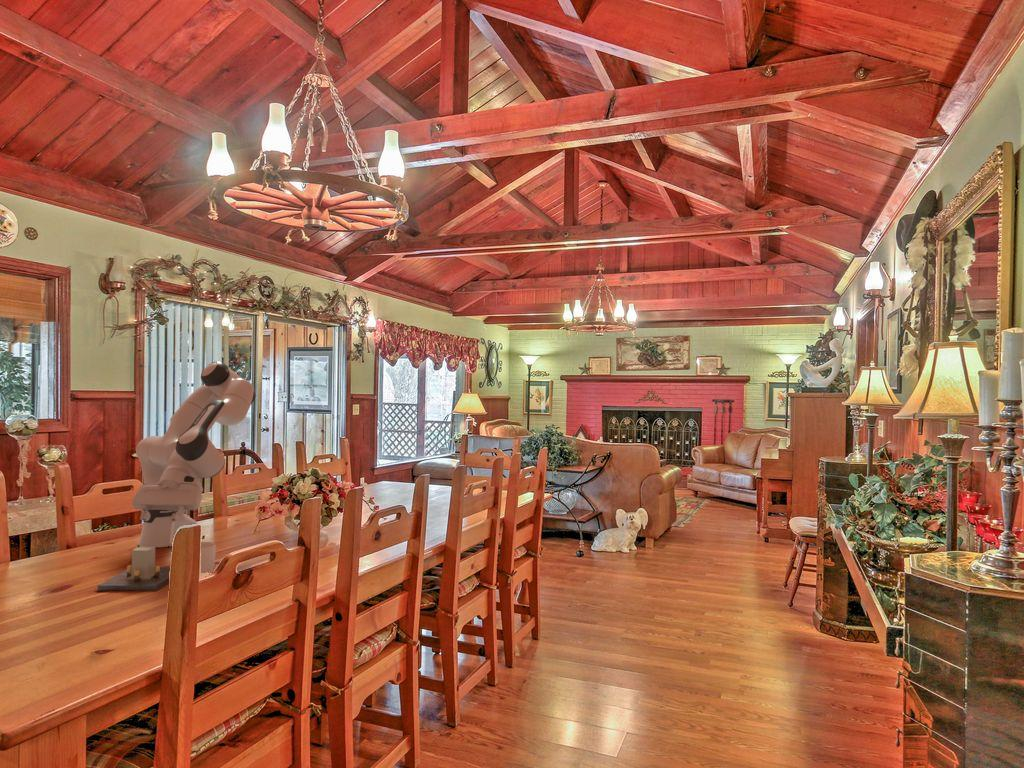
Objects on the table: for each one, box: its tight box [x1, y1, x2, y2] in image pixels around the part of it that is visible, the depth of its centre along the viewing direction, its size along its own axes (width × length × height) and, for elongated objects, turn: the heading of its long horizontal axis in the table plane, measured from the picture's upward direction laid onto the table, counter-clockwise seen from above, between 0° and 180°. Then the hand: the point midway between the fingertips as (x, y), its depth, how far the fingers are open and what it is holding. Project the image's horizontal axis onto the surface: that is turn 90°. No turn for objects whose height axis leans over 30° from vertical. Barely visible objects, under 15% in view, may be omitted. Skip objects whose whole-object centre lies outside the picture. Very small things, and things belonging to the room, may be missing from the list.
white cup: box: [200, 541, 217, 577], centre depth 191 cm, size 8×8×10 cm
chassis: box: [97, 564, 171, 592], centre depth 187 cm, size 18×16×4 cm
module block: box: [131, 546, 156, 578], centre depth 187 cm, size 4×4×8 cm
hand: (158, 519), depth 197 cm, fingers open, 8 cm apart
